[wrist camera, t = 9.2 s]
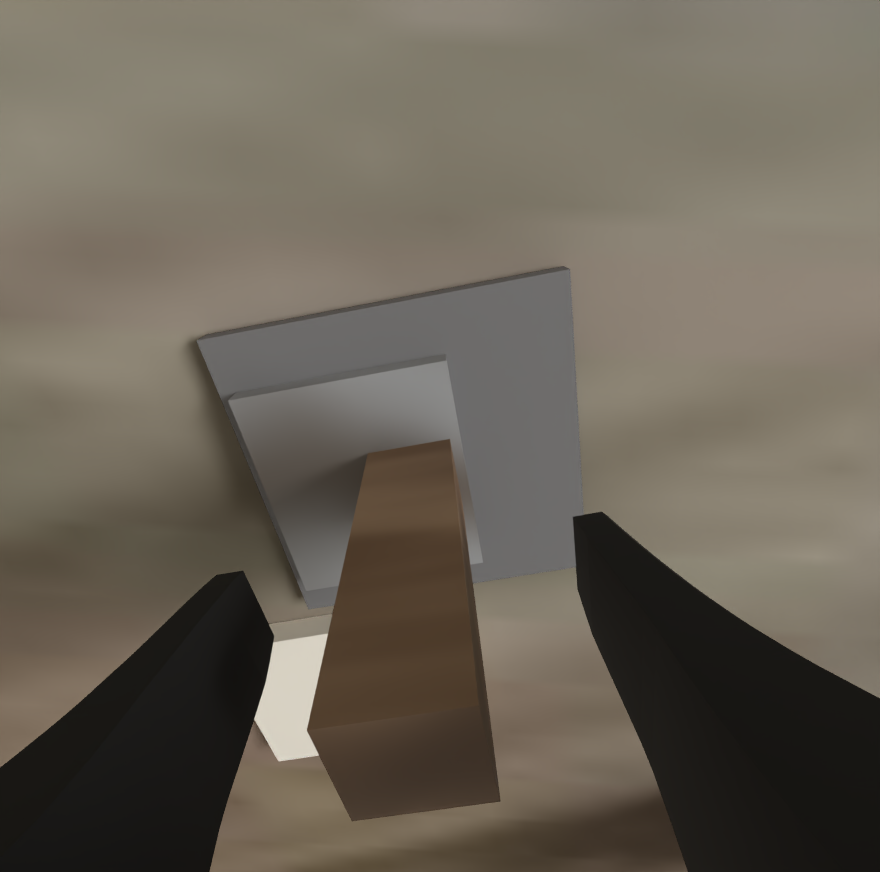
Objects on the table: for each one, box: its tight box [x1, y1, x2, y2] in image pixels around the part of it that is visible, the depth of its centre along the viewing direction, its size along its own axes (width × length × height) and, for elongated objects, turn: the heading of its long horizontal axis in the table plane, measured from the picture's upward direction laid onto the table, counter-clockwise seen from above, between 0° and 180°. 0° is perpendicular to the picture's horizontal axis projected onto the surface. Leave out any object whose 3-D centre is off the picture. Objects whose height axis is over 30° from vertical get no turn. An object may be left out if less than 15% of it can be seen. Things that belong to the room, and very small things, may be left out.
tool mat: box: [197, 266, 584, 609], centre depth 15 cm, size 10×10×1 cm
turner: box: [228, 354, 500, 821], centre depth 11 cm, size 7×6×9 cm
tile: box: [254, 614, 332, 761], centre depth 20 cm, size 7×1×9 cm
